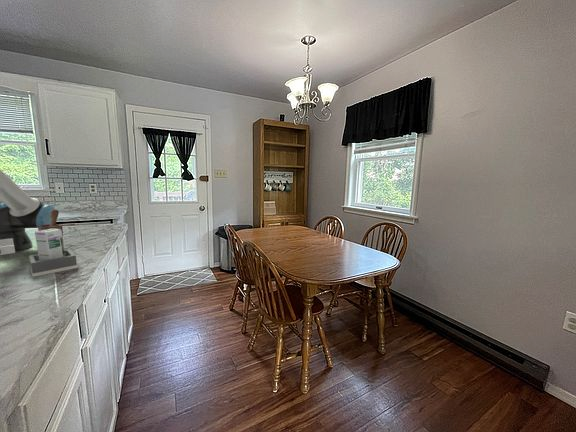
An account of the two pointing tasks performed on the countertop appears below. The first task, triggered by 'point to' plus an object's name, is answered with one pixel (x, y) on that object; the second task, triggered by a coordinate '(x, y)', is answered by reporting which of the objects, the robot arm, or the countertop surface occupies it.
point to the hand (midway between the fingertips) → (14, 245)
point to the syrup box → (49, 244)
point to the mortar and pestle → (52, 222)
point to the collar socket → (52, 264)
